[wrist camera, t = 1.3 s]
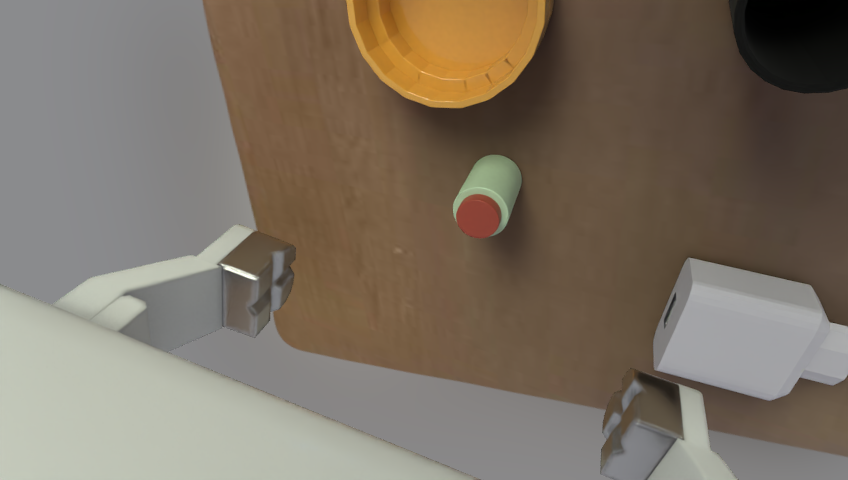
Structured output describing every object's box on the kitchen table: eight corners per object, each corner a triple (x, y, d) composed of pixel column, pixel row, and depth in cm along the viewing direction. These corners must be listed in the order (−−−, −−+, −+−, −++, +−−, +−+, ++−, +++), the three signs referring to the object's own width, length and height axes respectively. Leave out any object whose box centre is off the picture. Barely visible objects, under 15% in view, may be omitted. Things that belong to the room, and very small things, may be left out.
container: (470, 152, 46) (447, 191, 40) (522, 155, 45) (506, 195, 39) (471, 198, 48) (450, 241, 42) (521, 202, 47) (506, 247, 41)
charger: (839, 385, 47) (651, 337, 50) (901, 300, 42) (687, 252, 45) (857, 431, 43) (653, 375, 46) (927, 343, 38) (692, 287, 41)
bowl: (364, -106, 38) (332, -104, 34) (560, -123, 35) (550, -123, 31) (384, 84, 45) (359, 105, 41) (550, 88, 41) (541, 111, 37)
